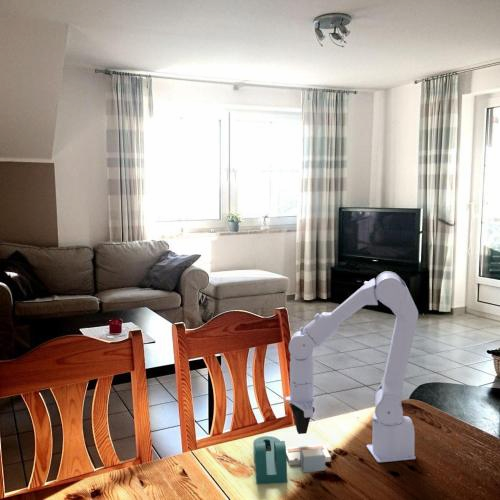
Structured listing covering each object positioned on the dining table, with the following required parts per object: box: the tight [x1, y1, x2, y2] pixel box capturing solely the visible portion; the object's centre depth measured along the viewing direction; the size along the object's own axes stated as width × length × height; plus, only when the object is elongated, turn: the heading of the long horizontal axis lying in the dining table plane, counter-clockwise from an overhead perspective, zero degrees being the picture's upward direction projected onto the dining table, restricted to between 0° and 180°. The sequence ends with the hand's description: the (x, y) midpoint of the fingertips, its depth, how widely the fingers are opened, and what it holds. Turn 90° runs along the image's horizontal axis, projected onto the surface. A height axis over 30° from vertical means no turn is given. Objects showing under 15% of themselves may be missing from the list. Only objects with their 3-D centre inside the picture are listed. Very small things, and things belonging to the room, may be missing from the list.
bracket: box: [252, 435, 288, 485], centre depth 128 cm, size 18×7×8 cm, turn 2°
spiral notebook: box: [286, 444, 332, 466], centre depth 131 cm, size 10×6×1 cm, turn 98°
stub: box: [299, 448, 326, 473], centre depth 126 cm, size 5×4×4 cm
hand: (301, 432), depth 135 cm, fingers closed
